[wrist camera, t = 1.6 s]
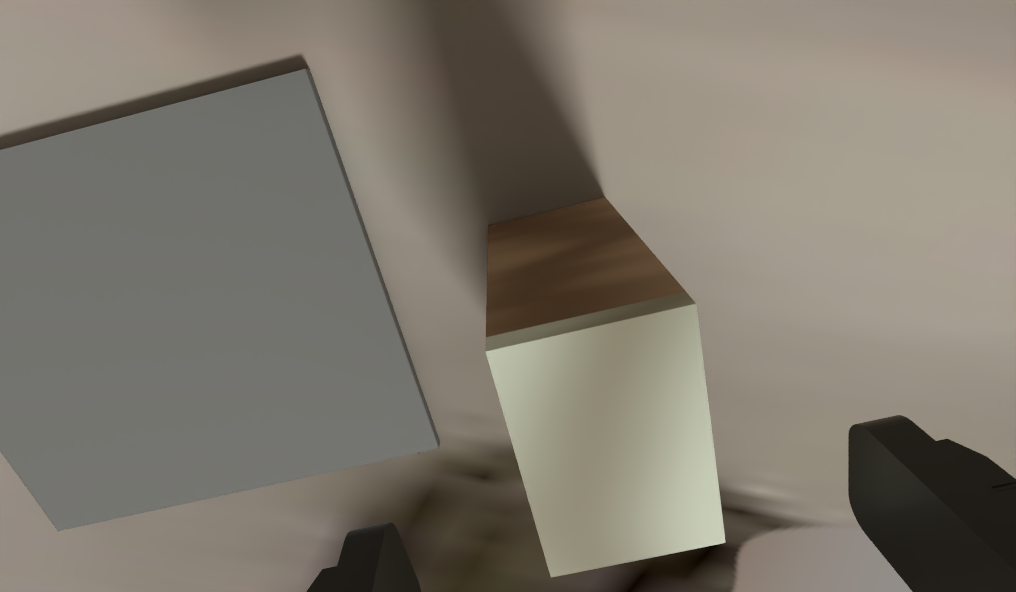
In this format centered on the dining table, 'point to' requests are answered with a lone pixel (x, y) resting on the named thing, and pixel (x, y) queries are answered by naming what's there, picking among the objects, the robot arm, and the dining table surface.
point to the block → (600, 389)
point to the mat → (194, 309)
